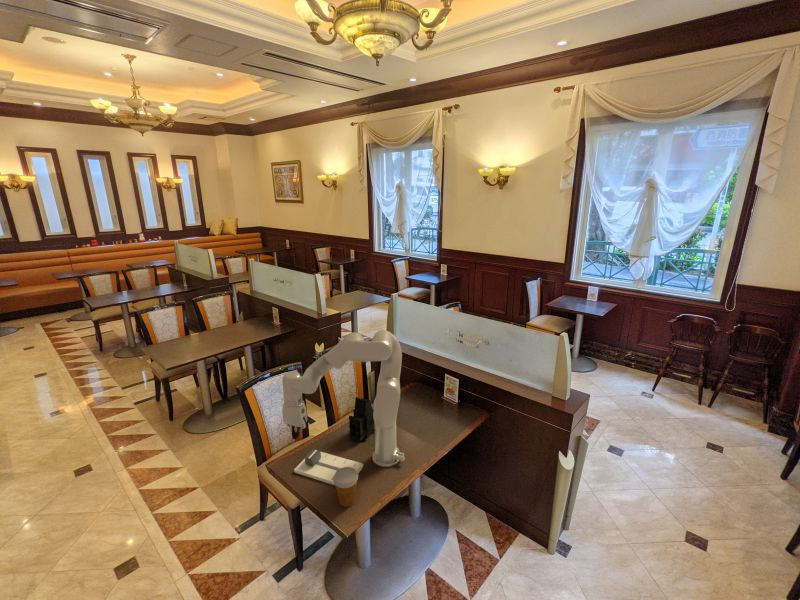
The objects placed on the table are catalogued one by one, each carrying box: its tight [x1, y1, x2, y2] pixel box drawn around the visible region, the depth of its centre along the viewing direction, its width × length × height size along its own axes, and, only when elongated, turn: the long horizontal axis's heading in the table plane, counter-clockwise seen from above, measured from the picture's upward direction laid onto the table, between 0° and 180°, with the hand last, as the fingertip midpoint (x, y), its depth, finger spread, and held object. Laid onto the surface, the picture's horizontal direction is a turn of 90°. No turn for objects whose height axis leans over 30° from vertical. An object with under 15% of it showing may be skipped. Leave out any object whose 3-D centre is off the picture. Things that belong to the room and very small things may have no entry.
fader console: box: [293, 451, 364, 486], centre depth 160 cm, size 26×14×2 cm, turn 68°
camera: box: [348, 396, 375, 442], centre depth 180 cm, size 10×14×20 cm
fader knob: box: [304, 448, 322, 466], centre depth 162 cm, size 4×6×4 cm, turn 158°
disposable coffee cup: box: [333, 467, 359, 508], centre depth 142 cm, size 10×10×12 cm
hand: (295, 437), depth 163 cm, fingers closed
